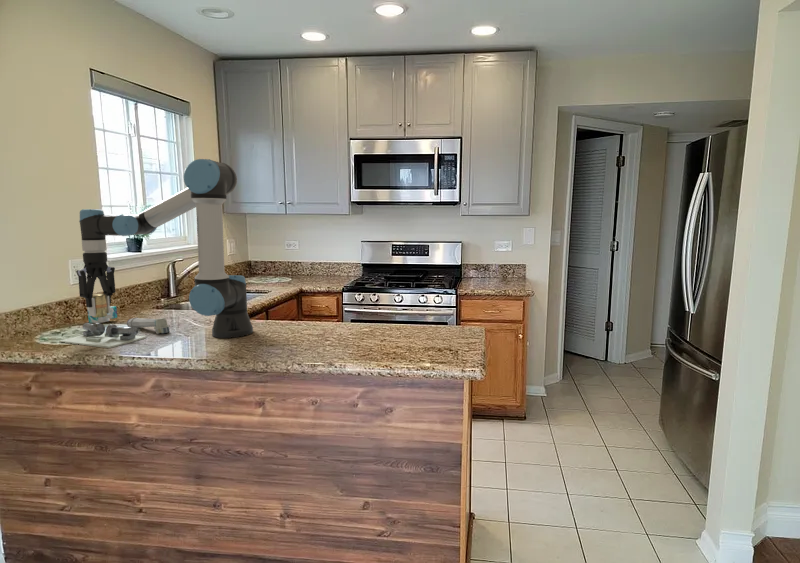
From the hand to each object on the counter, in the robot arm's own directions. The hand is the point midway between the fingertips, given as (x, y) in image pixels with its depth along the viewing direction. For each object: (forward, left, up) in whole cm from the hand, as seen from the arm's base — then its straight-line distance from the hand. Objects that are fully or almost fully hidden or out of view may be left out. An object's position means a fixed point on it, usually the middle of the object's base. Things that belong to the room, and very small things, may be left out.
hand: (99, 314), depth 182 cm
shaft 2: (-8, -2, -9) cm, 13 cm away
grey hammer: (-3, -18, -10) cm, 21 cm away
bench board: (0, 0, -10) cm, 10 cm away
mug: (+32, -25, -10) cm, 42 cm away
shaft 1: (+8, -2, -9) cm, 12 cm away
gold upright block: (0, 0, -1) cm, 1 cm away
